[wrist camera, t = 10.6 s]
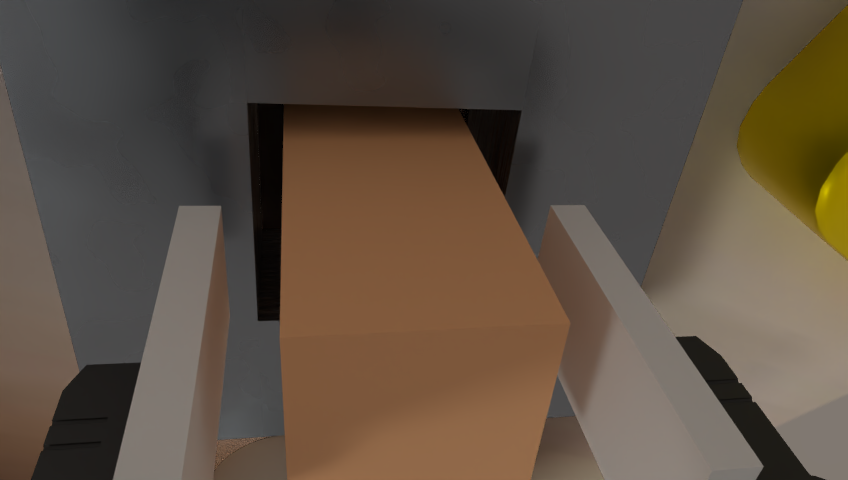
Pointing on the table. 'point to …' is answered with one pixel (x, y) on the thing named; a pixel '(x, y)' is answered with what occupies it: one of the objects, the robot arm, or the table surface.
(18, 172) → the table surface
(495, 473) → the square peg
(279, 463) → the round peg
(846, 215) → the element tile
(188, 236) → the robot arm
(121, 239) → the bore block
